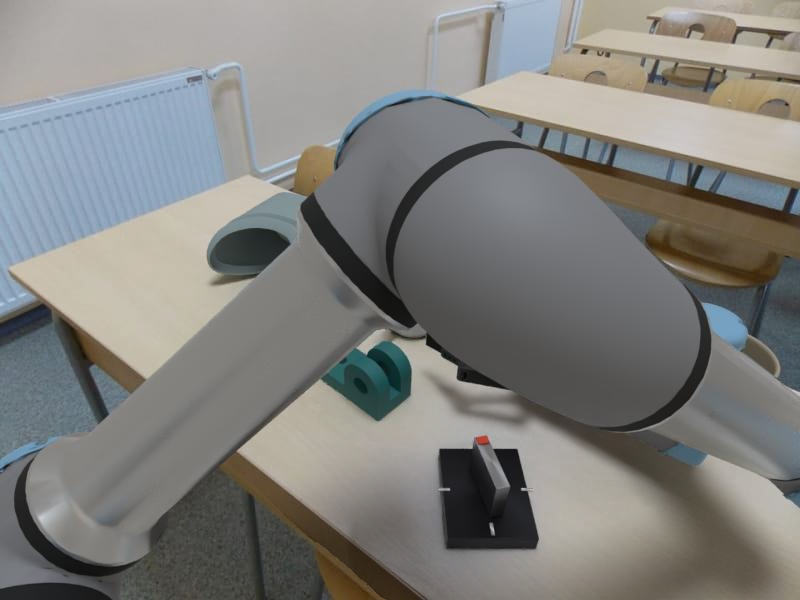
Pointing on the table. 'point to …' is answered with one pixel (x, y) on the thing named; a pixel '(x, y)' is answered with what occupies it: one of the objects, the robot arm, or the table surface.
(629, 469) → the table surface
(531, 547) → the panel
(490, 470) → the knob
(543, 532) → the table surface
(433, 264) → the robot arm
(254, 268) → the grey-blue hollow shell part
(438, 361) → the table surface
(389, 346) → the bracket
